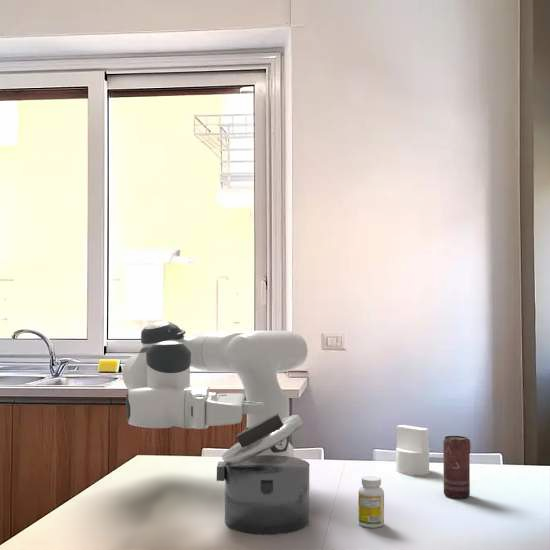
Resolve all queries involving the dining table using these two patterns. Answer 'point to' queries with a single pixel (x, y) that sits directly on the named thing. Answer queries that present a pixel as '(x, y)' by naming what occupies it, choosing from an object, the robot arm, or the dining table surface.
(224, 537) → the dining table surface
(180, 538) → the dining table surface
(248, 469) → the cooker pot
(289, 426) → the cooker lid
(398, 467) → the white stacked block
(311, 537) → the dining table surface
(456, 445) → the can
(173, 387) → the robot arm
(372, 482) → the supplement bottle
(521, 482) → the dining table surface
